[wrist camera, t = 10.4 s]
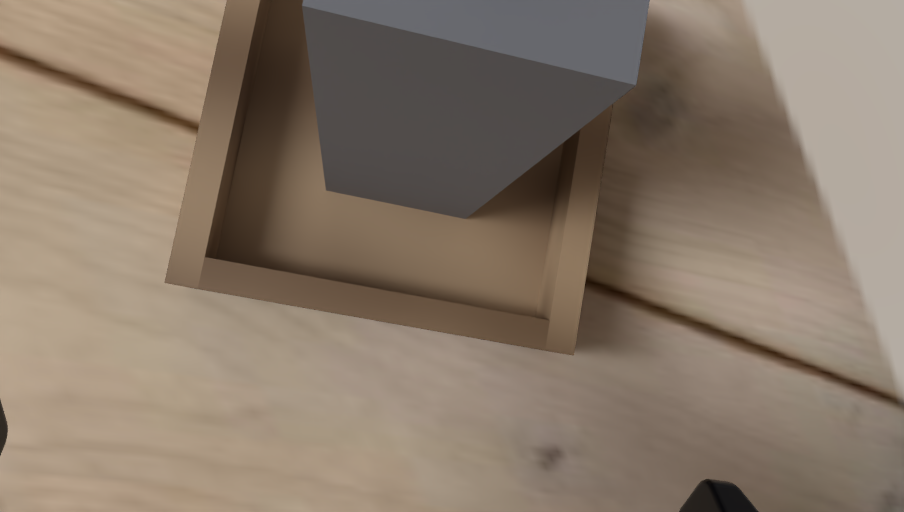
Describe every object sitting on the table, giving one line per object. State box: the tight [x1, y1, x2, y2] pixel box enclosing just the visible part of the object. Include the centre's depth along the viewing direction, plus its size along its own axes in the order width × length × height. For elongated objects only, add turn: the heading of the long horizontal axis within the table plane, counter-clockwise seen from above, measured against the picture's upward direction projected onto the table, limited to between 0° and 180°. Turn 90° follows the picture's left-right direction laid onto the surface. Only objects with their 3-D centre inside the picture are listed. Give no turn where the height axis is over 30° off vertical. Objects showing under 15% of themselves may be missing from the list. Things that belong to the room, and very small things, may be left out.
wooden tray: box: [165, 0, 613, 355], centre depth 20 cm, size 11×11×2 cm
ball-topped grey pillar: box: [302, 0, 650, 219], centre depth 14 cm, size 4×4×13 cm
